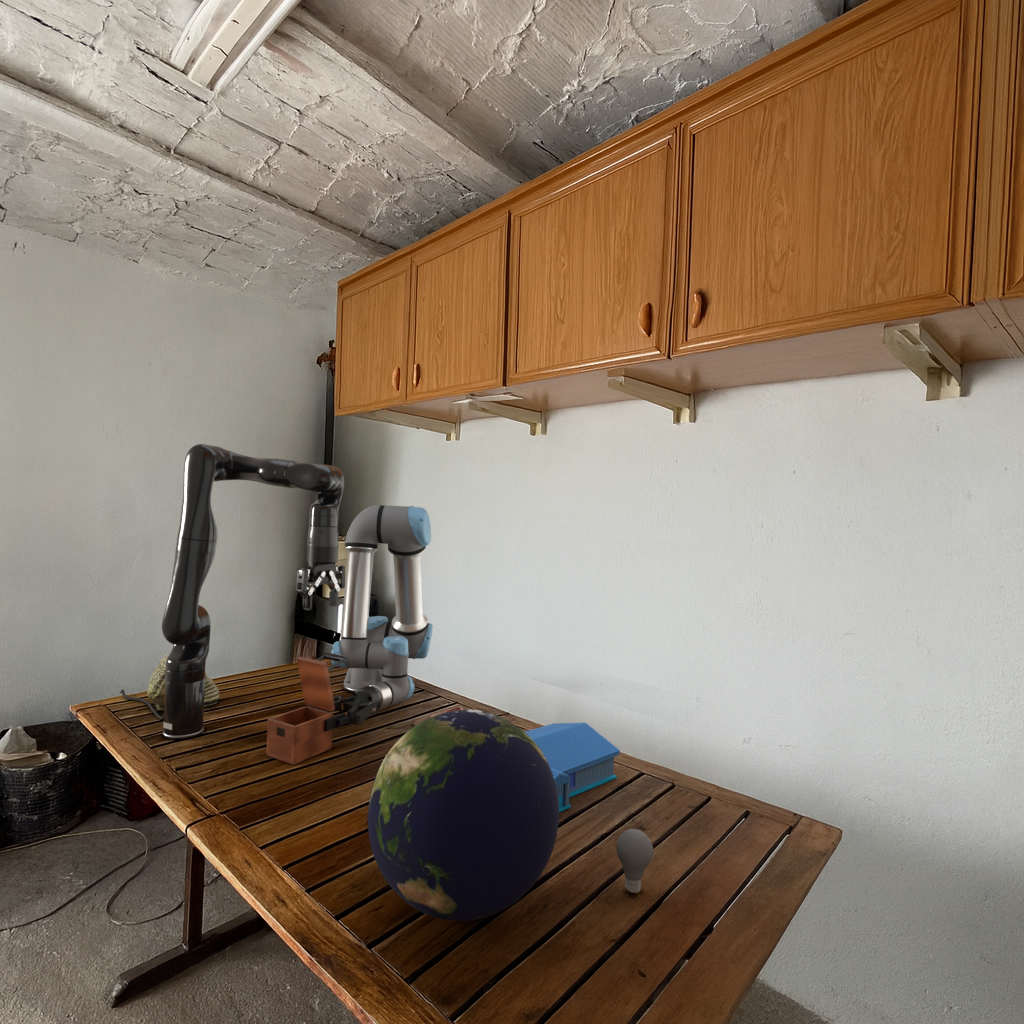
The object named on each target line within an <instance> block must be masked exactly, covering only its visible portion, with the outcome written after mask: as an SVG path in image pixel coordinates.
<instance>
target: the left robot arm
mask: <svg viewBox="0 0 1024 1024" xmlns="http://www.w3.org/2000/svg"><path fill="white" fill-rule="evenodd" d="M222 481H223V482H224V481H251V482H256V483H260V484H264V485H268V486H273V487H281V488H287V489H299V490H303V491H308V492H313V493H316V500H315V501H314V502H313V503H312V504H311V505H310V508H309V519H308V525H309V526H308V532H307V543H306V547H307V548H306V562H307V563H308V567H307V568H301V567H299V568H297V572H296V583H295V593H298V594H301V595H302V609H303V611H312V609H313V592H314V591H315V590H316V589H317V588H318V587H319V586H322V585H327V587H328V589H329V593H328V606H330V607H337V606H338V603H339V592H340V591H341V590H342V589H345V582H346V566H345V565H341V564H337V563H338V561H339V541H340V533H339V510H340V504H341V502H342V498H343V494H344V489H345V478H344V474H343V472H342V470H341V469H340V468H339V467H337V466H334V465H330V464H323V463H313V462H312V463H311V462H301V461H297V460H292V459H283V458H275V457H255V456H248V455H244V454H241V453H237V452H235V451H232V450H228V449H225V448H223V447H221V446H217V445H211V444H206V443H198V444H195V445H193V446H191V447H190V448H189V450H188V451H187V452H186V455H185V457H184V462H183V482H182V483H183V485H182V486H183V487H182V488H183V490H182V501H181V510H180V519H179V526H178V531H177V537H176V544H175V545H176V546H175V551H174V552H175V553H174V560H173V567H172V573H171V583H170V589H169V594H168V597H167V601H166V605H165V609H164V613H163V617H162V620H161V631H162V635H163V637H164V639H165V640H166V641H167V642H168V643H169V644H171V645H172V649H171V651H170V653H169V654H168V655H169V656H168V657H167V659H166V674H165V705H164V710H163V715H160V714H159V711H158V710H156V708H155V707H154V706H153V705H152V703H151V702H150V701H149V700H147V699H144V698H140V697H134V696H129V695H127V694H126V692H125V690H124V689H121V690H120V691H119V692H120V694H121V695H122V697H123V698H125V699H128V700H130V701H137V702H142V703H145V704H146V705H147V706H148V707H149V709H150V710H151V712H153V714H154V715H155V716H156V718H158V719H159V720H163V723H162V724H163V728H162V729H163V731H162V737H164V738H166V739H169V740H185V739H190V738H191V739H192V738H194V737H197V736H199V735H202V734H203V732H204V730H205V729H204V722H205V721H204V718H205V706H204V693H205V672H206V664H207V663H206V662H207V658H208V655H209V653H210V643H211V628H212V627H211V626H212V621H211V617H210V613H209V611H208V610H207V608H205V607H203V606H202V605H200V604H199V603H200V602H199V601H200V595H201V591H202V588H203V585H204V583H205V581H206V578H207V577H208V575H209V572H210V570H211V569H212V566H213V563H214V559H215V556H216V550H217V544H218V543H217V542H218V535H219V534H218V526H217V522H216V519H215V516H214V512H213V508H212V500H211V499H212V491H213V485H214V482H222Z"/></svg>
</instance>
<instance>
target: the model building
mask: <svg viewBox="0 0 1024 1024" xmlns="http://www.w3.org/2000/svg"><path fill="white" fill-rule="evenodd" d="M524 732H525V733H526V734H527V735H528V736H529V737H530V738H531V739H532V740H533V741H534V742H535V743H536V744H537V746H538V747H539V748H540V750H541V751H542V753H543V754H544V756H545V758H546V760H547V761H548V764H549V766H550V769H551V771H552V774H553V777H554V780H555V784H556V788H557V793H558V801H559V813H562V812H563V811H566V810H569V809H571V808H572V805H571V804H570V798H572V797H575V796H577V795H580V794H582V793H585V792H587V791H589V790H591V789H594V788H597V787H599V786H601V785H603V784H605V783H609V782H610V781H613V780H615V779H617V778H618V776H617V775H616V774H614V771H615V770H614V768H615V767H614V765H615V757H617V756H620V754H621V750H620V749H619V748H618V747H617V746H616V745H614V744H613V743H612V742H611V741H610V740H607V738H605V737H604V736H603V735H601V734H600V733H599V732H598V731H597V730H596V729H594V728H593V727H592V726H591V725H589V724H588V723H587V722H560V723H559V722H558V723H555V722H554V723H550V724H546V725H544V726H543V725H542V726H540V727H537V728H533V729H530V730H526V731H524Z"/></svg>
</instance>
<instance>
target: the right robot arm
mask: <svg viewBox="0 0 1024 1024" xmlns="http://www.w3.org/2000/svg"><path fill="white" fill-rule="evenodd" d="M431 530H432V526H431V520H430V516H429V513H428V511H427V510H426V509H425V508H424V507H419V506H414V505H409V506H405V505H382V504H374V505H370V506H368V507H366V508H364V509H363V510H361V511H360V512H359V513H358V514H357V515H356V516H355V517H354V519H353V520H352V522H351V524H350V525H349V528H348V530H347V531H346V532H347V533H346V536H345V542H344V549H345V551H346V552H347V559H346V569H345V588H344V594H343V595H344V596H343V608H342V617H341V618H342V621H341V631H340V632H341V633H340V640H338V641H335V642H334V643H333V645H332V647H331V652H330V653H332V654H337V655H342V656H346V657H348V661H347V663H341V664H340V665H338V666H337V667H336V668H343V669H347V672H346V675H345V677H344V680H343V690H344V691H346V692H347V693H351V694H353V695H351V696H350V695H349V696H348V697H343V695H342V694H338V695H336V696H333V700H334V706H335V709H334V710H333V711H332V712H331V711H328V710H324V709H320V708H317V707H313V706H310V705H309V707H313V708H316V709H320V710H323V711H327V712H331V713H334V712H339V713H340V714H337V715H333V717H331V718H329V719H326V720H325V725H324V731H329V730H331V729H332V730H334V729H336V728H338V727H342V726H343V725H346V724H347V725H351V724H352V723H353V725H355V726H357V725H359V724H361V723H362V722H364V721H365V720H367V719H368V718H369V717H371V716H374V715H376V714H377V712H378V713H379V712H380V711H381V710H384V709H386V708H388V707H392V706H394V705H397V704H400V703H402V702H404V701H406V700H408V699H410V698H412V697H413V694H414V692H415V684H414V680H413V678H412V677H411V676H410V675H409V674H408V670H409V669H408V667H409V659H412V660H416V659H417V660H420V659H422V660H423V659H426V658H427V657H428V655H429V652H430V647H431V641H432V635H433V628H434V625H433V623H431V622H429V621H428V617H427V615H425V614H424V612H423V610H424V609H423V608H424V607H423V576H422V574H423V572H422V553H424V552H425V550H426V548H427V546H429V545H430V543H431V539H432V532H431ZM379 544H384V545H387V551H388V552H389V553H390V554H391V555H392V559H393V560H392V561H393V579H394V580H393V581H394V598H395V615H394V617H393V618H392V620H391V621H389V618H388V617H387V616H382V615H376V616H375V615H374V616H370V606H371V605H370V604H371V592H372V591H371V590H372V581H373V580H372V578H373V568H374V567H373V566H374V555H375V553H376V552H377V551H378V545H379ZM330 661H331V665H333V664H335V663H336V662H338V661H333V660H330Z"/></svg>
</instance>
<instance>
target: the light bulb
mask: <svg viewBox="0 0 1024 1024" xmlns="http://www.w3.org/2000/svg"><path fill="white" fill-rule="evenodd" d="M615 849H616V854H617V857H618V859H619V861H620V863H621V865H622V867H623V873H624V874H623V875H624V876H625V878H624V888H625V890H627V891H628V892H630V893H634V894H635V893H639V892H640V891H641V889H642V887H641V886H642V879H643V877H644V875H645V871H646V868H647V867H648V866H649V864H650V863H651V861H652V859H653V855H654V847H653V843H652V841H651V838H649V836H648V835H647V834H646V833H645V832H643V831H642V830H641V829H636V828H629V829H627V830H625V831H623V832H622V833H621V834H620V835H619V837H618V839H617V841H616V847H615Z"/></svg>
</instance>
